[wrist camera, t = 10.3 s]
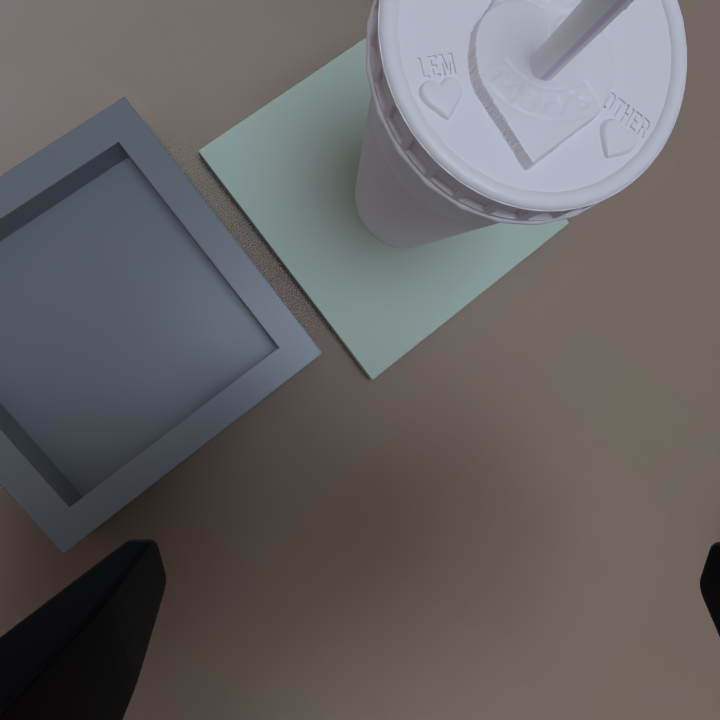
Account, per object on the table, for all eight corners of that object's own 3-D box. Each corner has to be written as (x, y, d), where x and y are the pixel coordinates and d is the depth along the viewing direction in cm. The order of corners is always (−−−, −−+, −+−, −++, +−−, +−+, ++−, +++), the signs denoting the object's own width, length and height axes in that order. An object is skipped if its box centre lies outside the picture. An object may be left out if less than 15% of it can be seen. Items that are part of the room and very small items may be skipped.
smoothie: (305, 268, 18) (432, 6, 5) (330, 92, 18) (527, -676, 5) (473, 297, 20) (971, 158, 6) (495, 131, 20) (1036, -390, 6)
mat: (369, 379, 19) (372, 379, 19) (200, 157, 18) (198, 150, 18) (560, 226, 21) (568, 222, 20) (415, 12, 20) (419, 1, 19)
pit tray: (85, 531, 18) (63, 554, 16) (-124, 296, 16) (-176, 288, 14) (315, 353, 19) (322, 353, 17) (139, 125, 18) (124, 96, 16)
